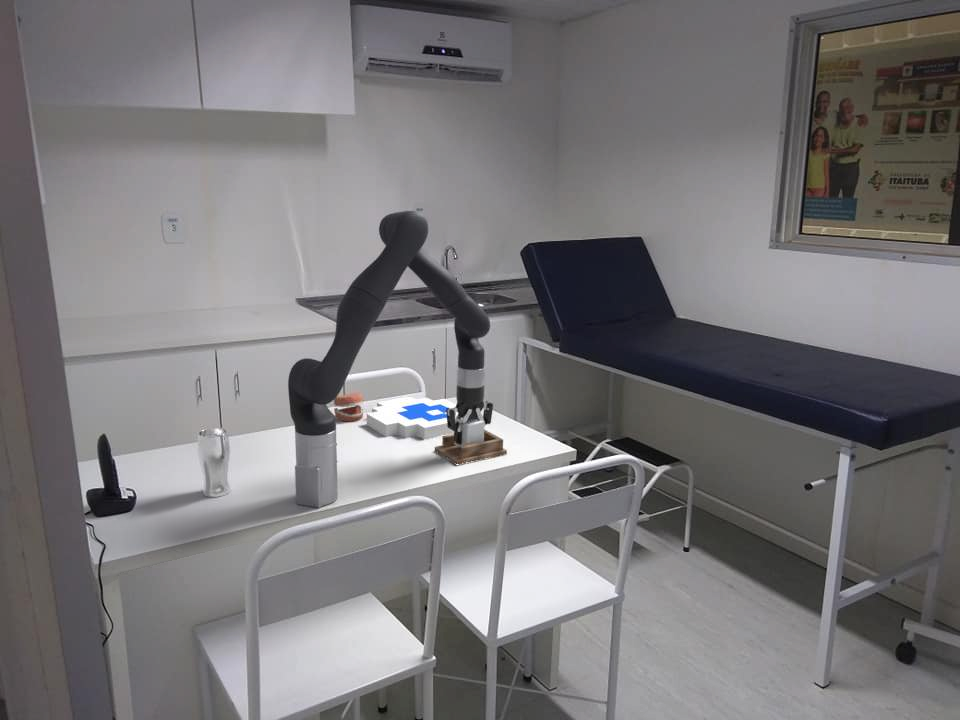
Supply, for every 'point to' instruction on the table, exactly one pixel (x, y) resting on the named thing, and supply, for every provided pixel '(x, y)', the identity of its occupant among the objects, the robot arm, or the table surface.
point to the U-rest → (471, 449)
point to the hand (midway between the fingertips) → (469, 441)
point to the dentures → (349, 412)
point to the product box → (472, 432)
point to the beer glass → (214, 460)
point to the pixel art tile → (411, 417)
